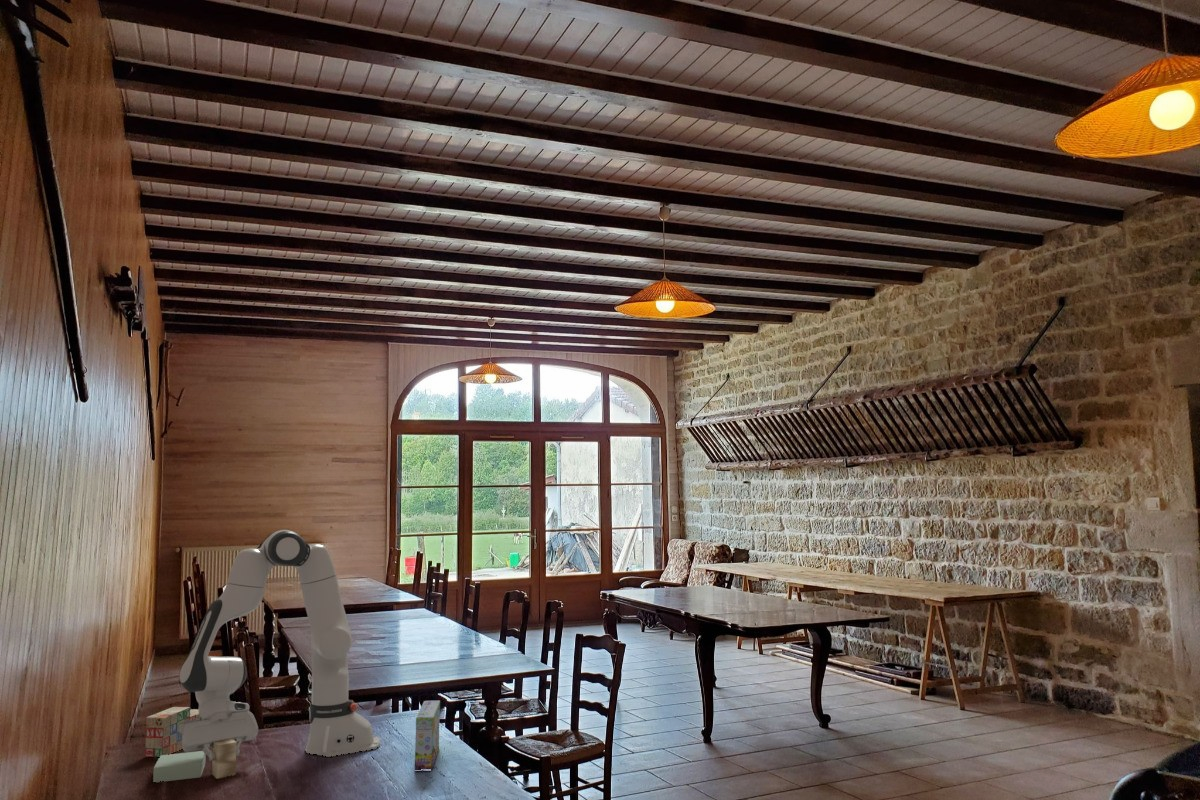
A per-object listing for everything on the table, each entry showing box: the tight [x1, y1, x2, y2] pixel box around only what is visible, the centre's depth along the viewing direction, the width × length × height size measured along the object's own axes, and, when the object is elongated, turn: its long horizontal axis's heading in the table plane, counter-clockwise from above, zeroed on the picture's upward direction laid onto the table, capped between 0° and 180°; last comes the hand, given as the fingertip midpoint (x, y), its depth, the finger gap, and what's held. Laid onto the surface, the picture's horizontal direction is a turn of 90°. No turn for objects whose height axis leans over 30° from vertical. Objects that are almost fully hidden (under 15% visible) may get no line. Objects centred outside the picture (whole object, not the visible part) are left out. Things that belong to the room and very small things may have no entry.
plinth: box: [152, 750, 207, 783], centre depth 240 cm, size 12×12×4 cm
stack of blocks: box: [144, 706, 200, 757], centre depth 266 cm, size 21×6×12 cm, turn 169°
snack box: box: [414, 700, 441, 770], centre depth 248 cm, size 21×6×15 cm, turn 6°
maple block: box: [211, 739, 237, 779], centre depth 238 cm, size 5×5×9 cm
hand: (224, 757), depth 238 cm, fingers closed on maple block, 5 cm apart
